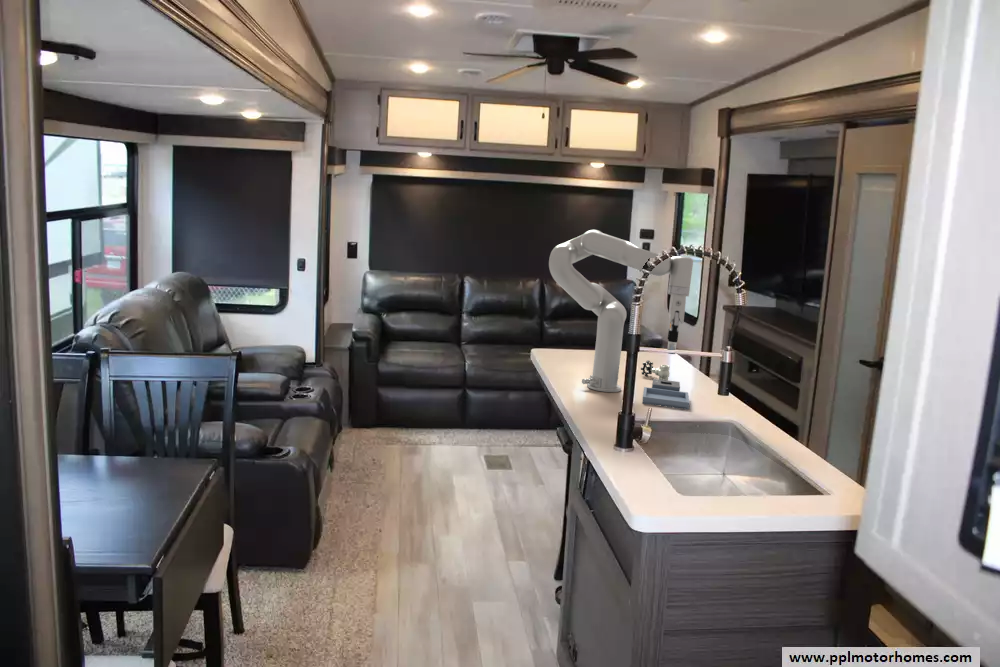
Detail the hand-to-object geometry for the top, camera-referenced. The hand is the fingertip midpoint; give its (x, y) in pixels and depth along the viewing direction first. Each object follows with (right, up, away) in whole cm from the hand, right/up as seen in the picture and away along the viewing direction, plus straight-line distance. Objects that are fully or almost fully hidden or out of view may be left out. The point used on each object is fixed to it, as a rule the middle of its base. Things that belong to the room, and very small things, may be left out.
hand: (672, 340), depth 304 cm
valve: (0, -16, +33) cm, 36 cm away
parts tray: (-3, -22, -3) cm, 22 cm away
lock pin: (0, -5, +1) cm, 5 cm away
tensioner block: (0, -20, +11) cm, 22 cm away
